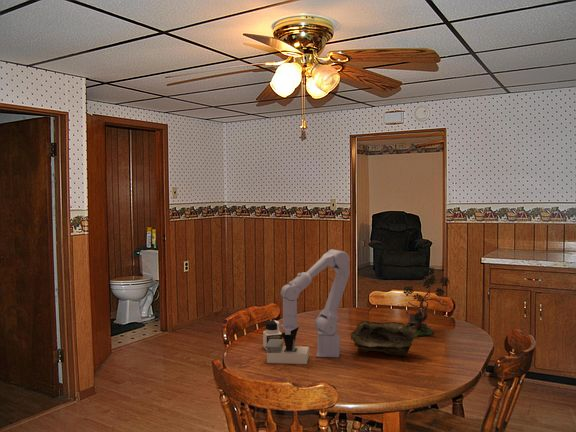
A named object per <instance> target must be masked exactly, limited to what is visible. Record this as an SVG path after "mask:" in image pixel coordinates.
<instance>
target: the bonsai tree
mask: <svg viewBox="0 0 576 432" xmlns="http://www.w3.org/2000/svg"><path fill="white" fill-rule="evenodd" d="M434 270H435V268H434V267H430V266H429V267H428V266H427V267H426V266H425V267H423V266H421V267H419V268H418V272H417V274H418V276H419V277H421V276H422V275H423V277H424V278H425V281H424V282H423V283H424V284H423V286H422V287H424V288H425V289H426V290H425V291H426V294H425V295H424V296H422V294H419V293H417V292H416V293H414V292H415V291H414V289H413V288H414V287H413V286H412V285H411V286H409V285H408V286H407V285H405V286H404V287H403V289H404V290H403V294H404V295H406V297H408V296H409V295H410V296H411V295H413V297H414V299H413V300H416V302H419V306H417V305H414V304H412V303H410V302H411V300H410V301H408V302H407V303H408V304H409V305H410V306H412V307H414V308H416V309H417V308H418V312H416V313H413V312H410V311H409V312H408V311H405V313H406V315H408V316H407V323H406V324H405V325H406V326H410V327H413V328H415V329H417V335H418V337H420V336H421V337H423V336H432V335H434V332H435V331H434V330H433V329H431V326H428V324H427V323H425V321H426V320H427V318H428V312H427V310H428V307H429V302H428V301H437V302H439V304H440V305H441V306H444V302H446V303H447V304H446V306H449V302H448V301H446V300H442V303H441V301H440V300H438V299H435V298H429V297H430V295H431V289H430V288H431V287H432V286H434V285H436V283H437V282H436V280H437V279H436V276H435V271H434ZM425 276H427V277H428V278H426V277H425ZM438 283H440V284H442V285H441V286H442V287H448V285H449V284H451V281H450V278H448V277H447V276H441V279H440V280H439V282H438ZM434 292H435V293H436V295H437V296H439V297H443V296H444V295H445V293H447V292H446V291H445V290H443V288H440V287H438V288H437V289H436V290H434ZM424 303H426V305H424Z"/></svg>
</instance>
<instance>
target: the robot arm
mask: <svg viewBox="0 0 576 432" xmlns="http://www.w3.org/2000/svg"><path fill="white" fill-rule="evenodd" d="M350 261H351V258H350V257H349V255H348V253H347V252H346V251H344V250H338V249H335V248H331V249H329V250H328V251H326V253H323V255H322V256H321V257H320V258H319V259H318V260H317V261H316V262H315V263H314V264H313V265H312V266H311V267H310V268H309V269H308V270H307V271H306V272H303V271H302V272H298V273H297V276H296V277H294V278H293V279H292V280H291V281H289V282H288V283H287V284H285V285H283V286H282V287H281V291H280V292H279V293H280V296H281V297H282V324H279V328H283V330H284V331H285V332H281V333H282V339H284V342H283V343H284V346H286V350H287V351H292V348H293V341H294V340H295V341H296V340H297V339H296V338H297V333H298V332H299V331H298V330H299V329H300V327H299V325H298V301H297V300H298V298H299V297H300V293H301V292H303V291H304V290H305V289H307V287H308V286H309V285H310V284H312V281H313V278H315V277H316V276H317V275H318V274H319V273H321V272H323V270H324V269H326V268H328V267H329V268H330V267H331V268H333V270H334V272H335V277H334V279H333V281H332V285H331V288H330V291H329V294H328V297H327V299H326V303H325V305H324V308H323V309H322V310H321V311H320V313H319V314H318V316H317V317H316V318H315V321H314V326H315V328H316V329H317V352H316V355H315V356H316V357H317V358H318V357H319V358H340V354H341V337H340V336H341V335H340V333H336V332H337V331H338V320H339V317H338V310H339V307H340V304H341V301H342V298H343V295H344V291H345V290H346V286H347V283H348V280H349V279H350V278H349V277H350V275H351V274H350V273H351V269H350Z"/></svg>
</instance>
